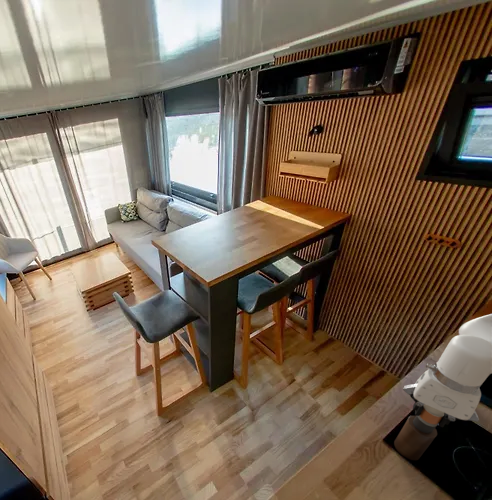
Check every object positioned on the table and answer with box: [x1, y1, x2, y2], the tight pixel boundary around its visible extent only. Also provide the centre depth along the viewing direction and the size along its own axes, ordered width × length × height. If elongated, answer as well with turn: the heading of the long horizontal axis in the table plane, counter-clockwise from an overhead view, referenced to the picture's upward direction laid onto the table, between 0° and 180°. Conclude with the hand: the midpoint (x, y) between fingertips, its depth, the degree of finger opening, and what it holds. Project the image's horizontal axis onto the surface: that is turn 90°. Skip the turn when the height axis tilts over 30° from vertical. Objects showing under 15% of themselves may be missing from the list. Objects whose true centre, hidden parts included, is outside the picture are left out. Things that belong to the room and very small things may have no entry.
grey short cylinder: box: [413, 415, 438, 434], centre depth 74 cm, size 4×4×4 cm
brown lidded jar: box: [393, 415, 438, 461], centre depth 79 cm, size 6×6×14 cm
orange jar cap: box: [419, 404, 444, 425], centre depth 72 cm, size 4×4×4 cm
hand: (428, 416), depth 73 cm, fingers closed on orange jar cap, 4 cm apart
